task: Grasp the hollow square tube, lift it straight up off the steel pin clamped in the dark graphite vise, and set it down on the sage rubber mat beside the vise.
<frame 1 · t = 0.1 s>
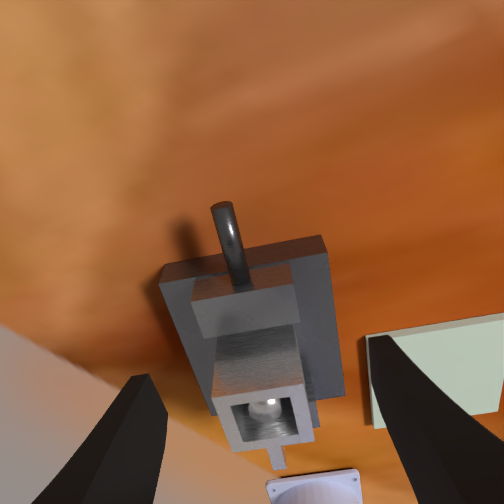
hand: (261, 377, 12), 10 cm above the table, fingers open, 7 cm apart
vise: (260, 323, 24), on the table
hollow square tube: (261, 345, 22), point 2 cm above the table, touching vise
set down mat: (433, 372, 26), on the table
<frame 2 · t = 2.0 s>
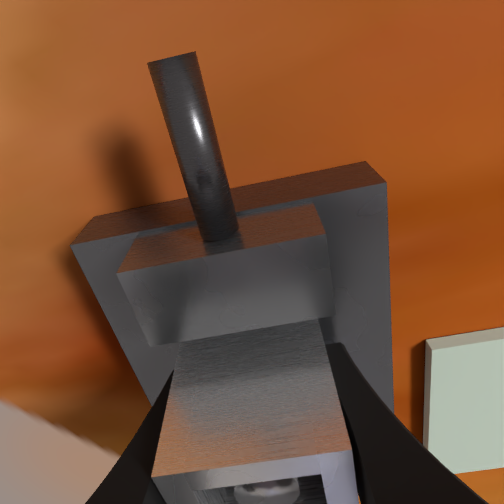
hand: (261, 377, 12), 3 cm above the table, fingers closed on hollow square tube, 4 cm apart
vise: (258, 319, 15), on the table
hollow square tube: (260, 357, 13), point 2 cm above the table, touching gripper, vise
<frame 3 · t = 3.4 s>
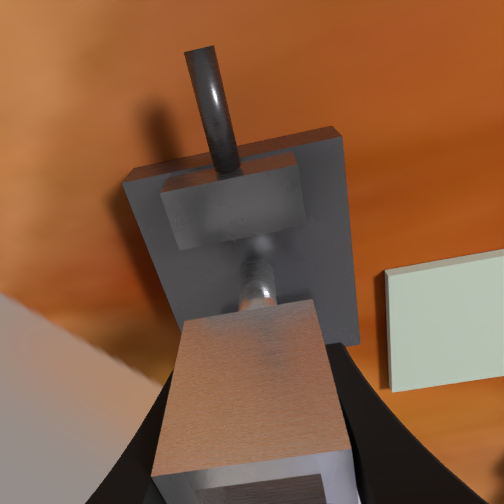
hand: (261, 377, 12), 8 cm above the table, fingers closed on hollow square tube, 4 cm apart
vise: (255, 252, 19), on the table
hollow square tube: (260, 356, 13), point 7 cm above the table, touching gripper
set down mat: (465, 320, 22), on the table
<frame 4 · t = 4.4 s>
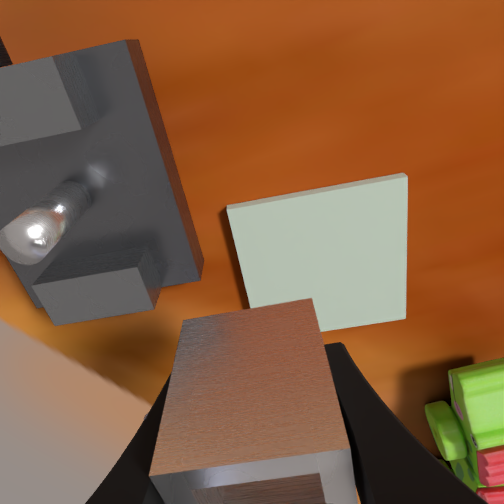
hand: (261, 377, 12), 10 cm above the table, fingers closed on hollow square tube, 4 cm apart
toy crocodile: (464, 426, 29), on the table
vise: (89, 183, 19), on the table
hollow square tube: (259, 356, 13), point 9 cm above the table, touching gripper
set down mat: (322, 263, 21), on the table
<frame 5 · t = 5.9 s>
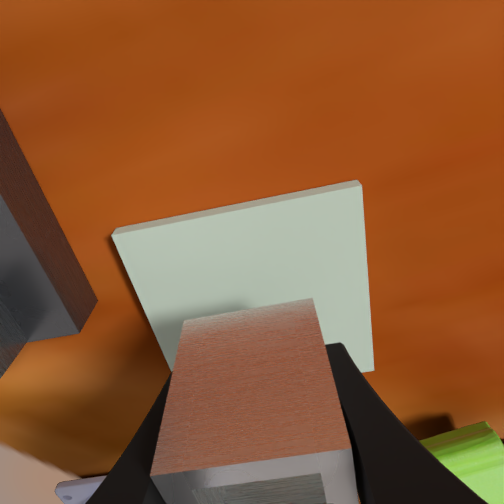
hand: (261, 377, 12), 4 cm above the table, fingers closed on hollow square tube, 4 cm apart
toy crocodile: (463, 488, 24), on the table
hollow square tube: (260, 356, 13), point 3 cm above the table, touching gripper
set down mat: (257, 301, 16), on the table
when the fingers open (3 cm above the table, at t = 7.1 s): hollow square tube drops 1 cm, resting on set down mat.
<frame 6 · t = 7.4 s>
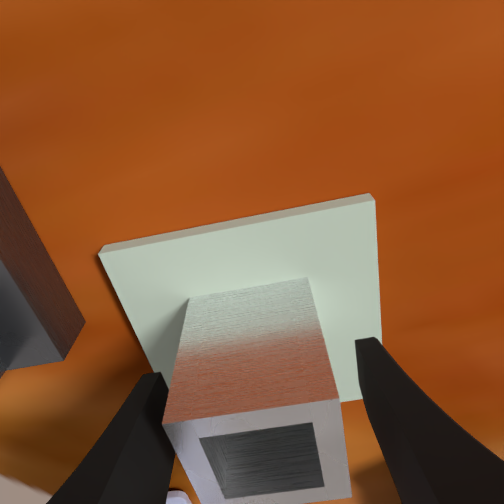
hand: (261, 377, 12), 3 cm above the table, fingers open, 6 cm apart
hollow square tube: (259, 332, 14), point 1 cm above the table, touching set down mat
set down mat: (258, 323, 15), on the table
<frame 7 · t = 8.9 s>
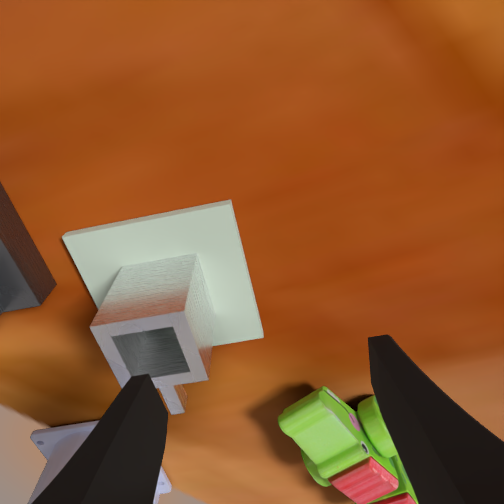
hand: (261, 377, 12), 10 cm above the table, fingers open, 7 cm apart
toy crocodile: (366, 438, 30), on the table
hollow square tube: (170, 290, 21), point 1 cm above the table, touching set down mat
set down mat: (172, 285, 22), on the table
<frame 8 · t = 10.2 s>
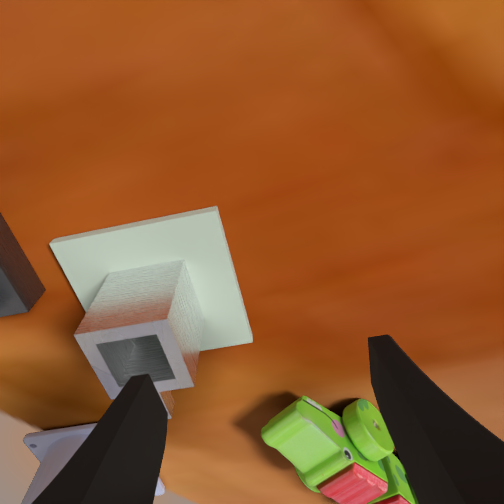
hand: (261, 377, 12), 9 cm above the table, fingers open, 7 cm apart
toy crocodile: (362, 440, 30), on the table
hollow square tube: (158, 296, 21), point 1 cm above the table, touching set down mat
set down mat: (161, 291, 22), on the table
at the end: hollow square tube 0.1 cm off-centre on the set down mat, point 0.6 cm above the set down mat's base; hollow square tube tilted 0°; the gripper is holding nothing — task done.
